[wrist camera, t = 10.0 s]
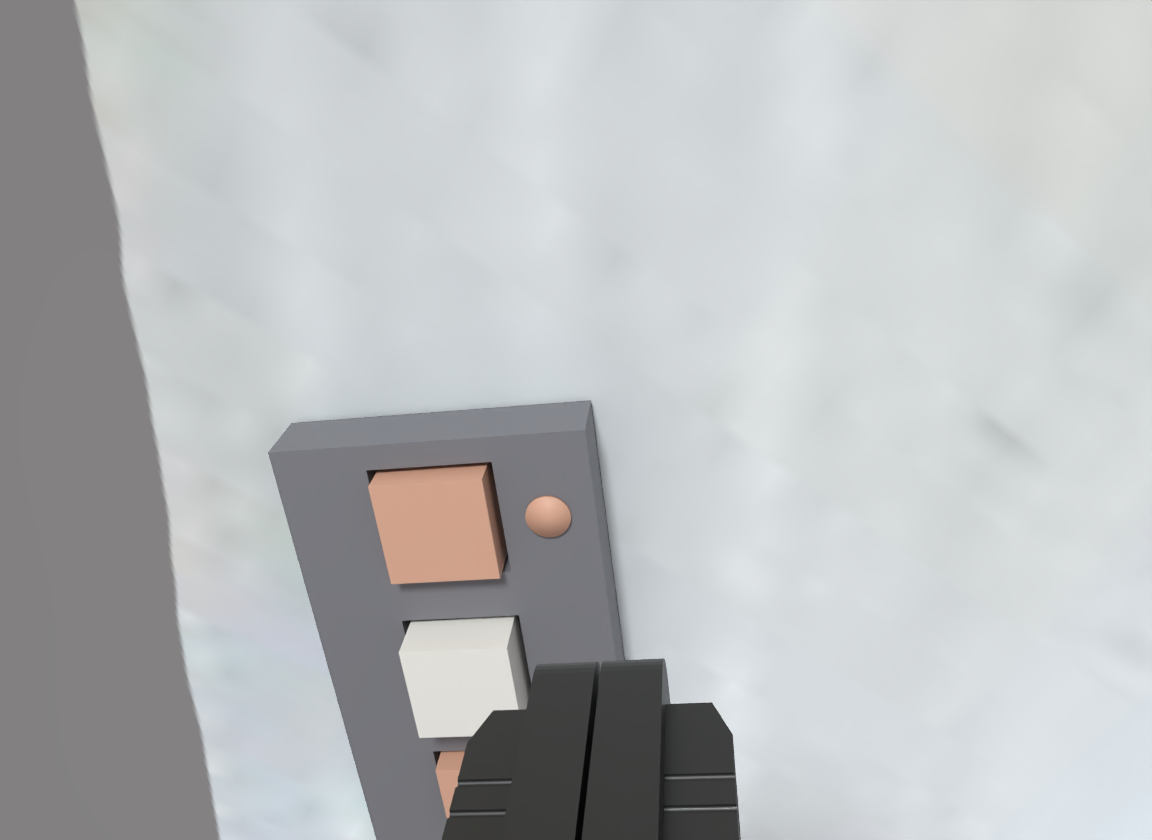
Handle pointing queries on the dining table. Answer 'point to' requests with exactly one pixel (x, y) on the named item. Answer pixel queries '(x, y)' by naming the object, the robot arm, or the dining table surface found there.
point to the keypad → (384, 611)
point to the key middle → (463, 672)
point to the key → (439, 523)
